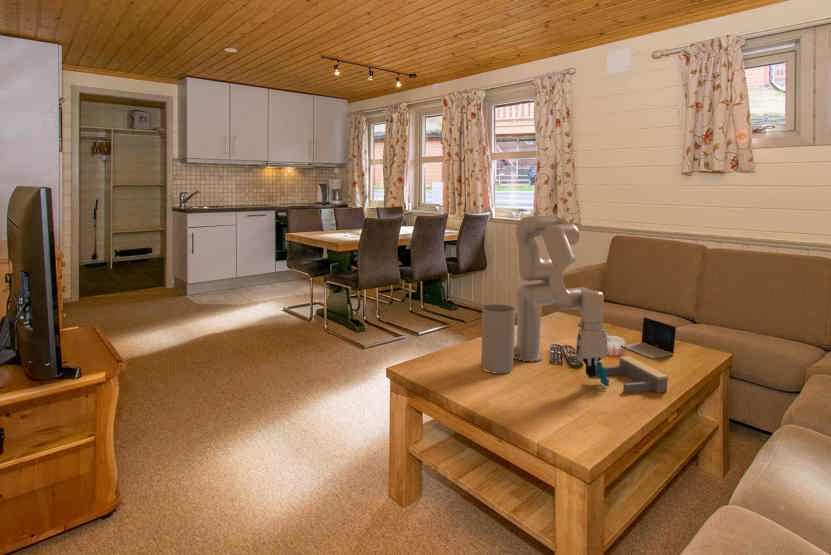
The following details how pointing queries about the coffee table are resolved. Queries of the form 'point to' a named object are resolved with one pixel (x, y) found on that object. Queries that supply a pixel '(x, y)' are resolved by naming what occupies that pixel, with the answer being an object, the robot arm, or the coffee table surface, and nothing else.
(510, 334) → the cylinder vase
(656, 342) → the laptop
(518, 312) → the robot arm
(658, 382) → the gear bay
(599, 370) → the gear
